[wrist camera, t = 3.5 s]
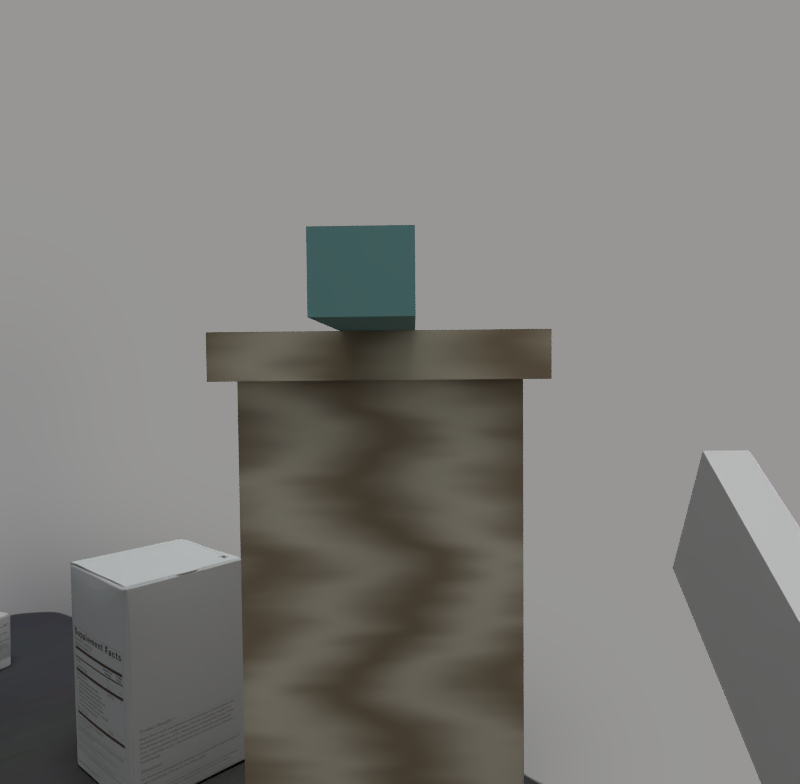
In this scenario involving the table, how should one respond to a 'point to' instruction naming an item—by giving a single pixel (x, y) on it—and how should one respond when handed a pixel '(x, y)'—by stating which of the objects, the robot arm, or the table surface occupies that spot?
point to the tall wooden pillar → (382, 551)
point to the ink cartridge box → (5, 640)
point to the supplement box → (158, 664)
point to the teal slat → (361, 277)
